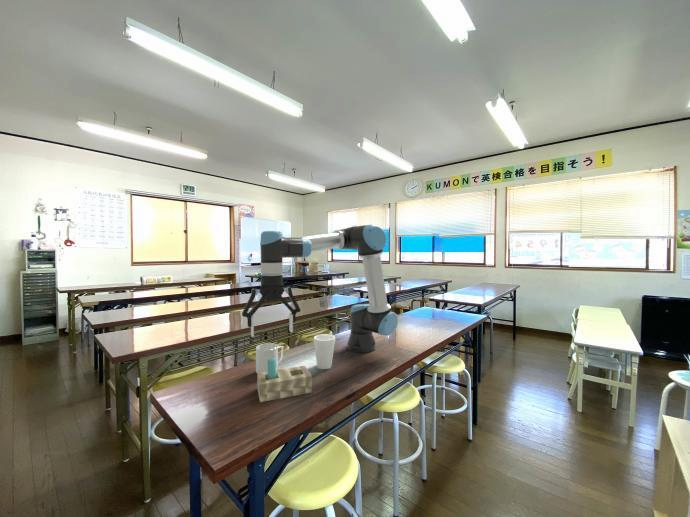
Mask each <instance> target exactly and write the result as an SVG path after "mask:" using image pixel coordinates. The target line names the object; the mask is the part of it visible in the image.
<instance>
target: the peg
mask: <svg viewBox="0 0 690 517" xmlns="http://www.w3.org/2000/svg"><path fill="white" fill-rule="evenodd" d="M270 379H276V359H275V358H271V359H268V380H270Z"/></svg>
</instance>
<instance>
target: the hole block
mask: <svg viewBox="0 0 690 517" xmlns="http://www.w3.org/2000/svg"><path fill="white" fill-rule="evenodd" d="M256 374H257V375H256V377H257V379H256V380H257V381H256V382H257V383H256V384H257V385H256V386H257V394H258V398H259V402H260V403H264V402H267V401H273V400H279V399H284V398H289V397H294V396H300V395H305V394H309V393H310V394H311V393H312V392H313V388H312V387H313V386H312V385H313V382H312V381H313V376H312V374H311V373H310V370H308V368H307V366H306V365H301V366H294V367H288V368H281V369H279V368H278V370H276V379H270V380H268V371H266V372H259V373H256Z"/></svg>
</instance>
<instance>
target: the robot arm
mask: <svg viewBox="0 0 690 517" xmlns="http://www.w3.org/2000/svg"><path fill="white" fill-rule="evenodd" d="M259 243H260V274H261V276H260V288H259V289H258V288H252V289H251V293H250V296H249V298H248V300H247V303H245V304H246V305H245V306H244V308H243V311H241V315H242V317H243V318H247V327H248V328H250V336H251V338H254V336H255V332H254V331H255V330H254V325H255V321H254V320H255V319H254V314H255V313H256V312H257V311H258V310H259V308H260V307H261V306H262V305H263V304H264V303H265V302H266V301H267V302H272V301H273V302H275V301H278V300H280V302H282V304H283V305H284V306H285V307H286V308H287V309H288V310H289V311H290V312H289V313H288V314H289V315H288V316H289V317H288V319H289V320H288V321H289V322H288V323H289V327H288V328H289V332H290V333H294V323H296V321H297V320H296V314H298V313H300V312H301V307H300V306H299V303H298V302H297V300H296V298H295V296H294V294H293V290H292V288H291V287H290V286H287V287H285V288H284V287H283V285H284V284H283V282H284V281H283V280H284V278H283V276H284V275H282V274H283V270H284V269H283V259H285V258H301V259H302V258H308V257H309V256H310V255H311V253H312V252H320V251H326V250H327V251H328V250H333V249H335V250H337V251H338V250H339V251H340V250H353V251H357V253H358V256H359V257H360V258H361V259H362V263H363V264H362V266H363V272H364V278H365V283H366V290H367V296H368V302H369V303H363V304H362V303H360V304H353V305H352V306H351V308H350V314H349V315H350V333H349V337H348V340H347V343H346V344H347V345H346V348H347V349H348V350H349V351H351V352H355V353H370V352H373V351H375V350H376V348H377V347H376V345H377V344H376V340H375V338H374V334H373V333H375V334H377V335H380V336H386V337H387V336H390V335H392V334H393V333H394V332H395V331H396V328H397V327H398V324H399V323H398V322H399V318H398V314H396V312H393V311H392V306H391V304H390V303H388V298H387V294H386V293H387V292H386V286H385V278H384V273H383V271H384V270H383V267H382V266H383V265H382V259H381V255H382V254H383V252H384V250H383V249H384V248H385V247H386V244H387V234H386V233H385V230H384V229H383V228H382V227H381V226H379V225H377V224H366V225H357V226H356V225H354V226H349V227H346V228H342V229H337V230H334V231H333V232H327V233H318V234H309V235H299V236H293V237H292V236H291V237H285V236H283V232H281V231H278V230H265V231H262V232H261V234H260V242H259ZM284 292H285V293H286V294H287V295H288V297H289V300H290V302H291V303H292V305H293V306H294V308H293V306H291V305H290V304H289V302H288V301H287V300H285V298H284V297H283V296H282V295H283V293H284ZM258 294H260V295H261V297H259V300H258V301H257V302H256V303H255V305H253V302H254V299H255V297H256V296H258ZM252 305H253V307H252ZM251 307H252V308H251ZM250 308H251V309H250Z"/></svg>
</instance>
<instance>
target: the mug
mask: <svg viewBox="0 0 690 517" xmlns="http://www.w3.org/2000/svg"><path fill="white" fill-rule="evenodd" d="M284 348H285V347H284V346H283V345H282V346H281V345H280V346H279V345H278V344H277V343H272V342H266V343H261V344H258V345H256V347H255V372H256V374H257V373H259V372H266V371H268V359H271V358H275V359H276V370H279V367H278V366H279V365H280V364H281V362H282V361H283V360H284V351H285V350H284ZM279 349H280V350H281V351H280V352H281V354H280V359H279V351H278V350H279Z"/></svg>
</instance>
